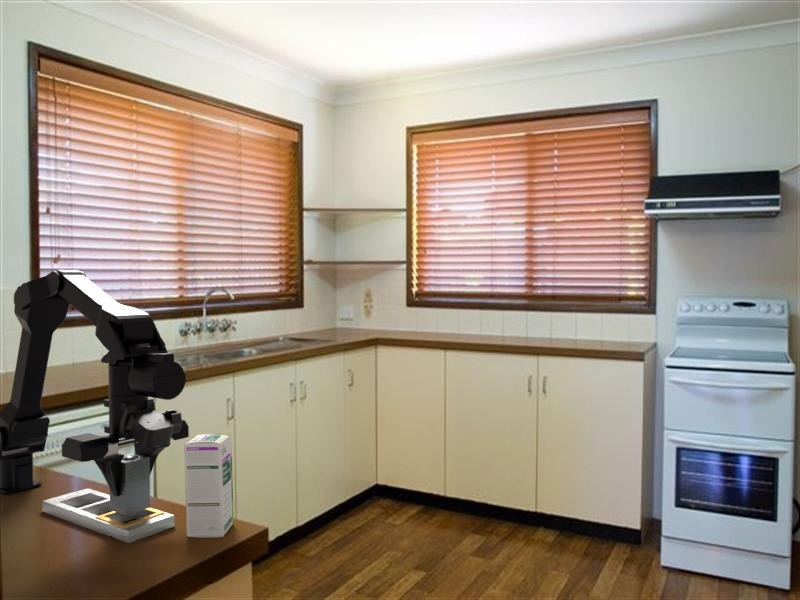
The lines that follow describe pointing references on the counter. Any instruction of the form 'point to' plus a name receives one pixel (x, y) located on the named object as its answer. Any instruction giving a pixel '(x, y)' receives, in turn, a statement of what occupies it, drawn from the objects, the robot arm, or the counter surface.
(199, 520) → the syrup box
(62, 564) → the counter surface
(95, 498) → the socket frame
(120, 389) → the robot arm
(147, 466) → the gray knob block
